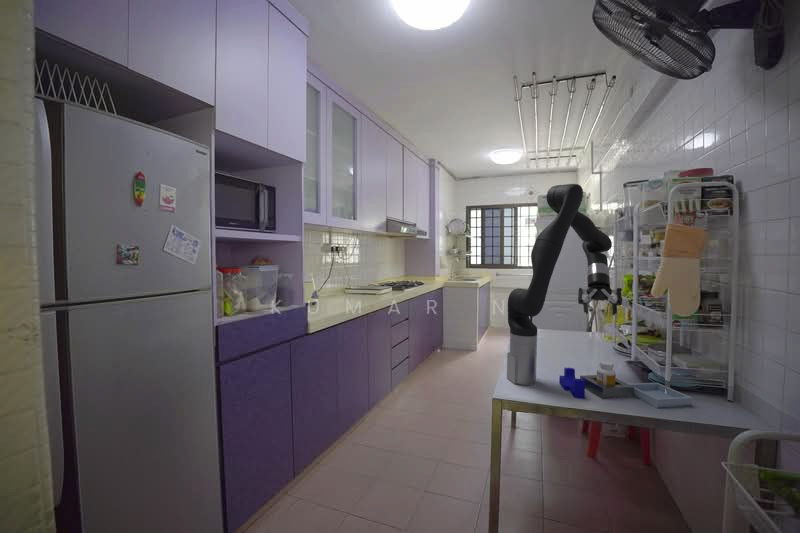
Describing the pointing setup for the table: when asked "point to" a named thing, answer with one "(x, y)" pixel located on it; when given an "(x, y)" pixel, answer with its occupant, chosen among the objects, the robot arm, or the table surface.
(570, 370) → the blue stepped block
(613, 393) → the tray
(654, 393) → the tray
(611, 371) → the supplement bottle
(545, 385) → the table surface
